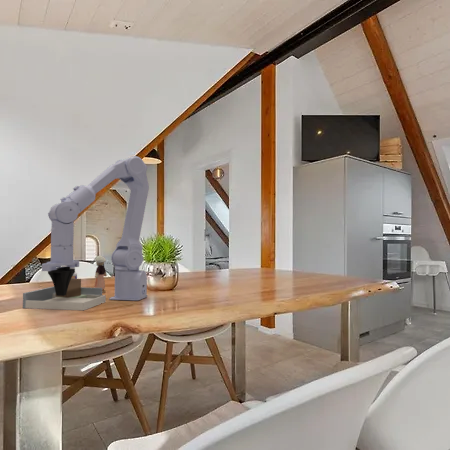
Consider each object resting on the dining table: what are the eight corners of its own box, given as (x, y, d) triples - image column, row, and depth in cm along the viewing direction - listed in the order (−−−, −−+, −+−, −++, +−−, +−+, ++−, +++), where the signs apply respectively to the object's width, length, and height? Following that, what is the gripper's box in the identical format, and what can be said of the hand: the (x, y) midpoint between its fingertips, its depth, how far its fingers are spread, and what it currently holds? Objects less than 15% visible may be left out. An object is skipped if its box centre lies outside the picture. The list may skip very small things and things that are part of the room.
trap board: (106, 301, 110) (106, 288, 110) (83, 310, 96) (83, 295, 97) (52, 299, 112) (52, 286, 112) (22, 308, 99) (23, 293, 99)
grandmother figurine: (96, 290, 131) (97, 255, 131) (108, 290, 131) (108, 255, 131) (90, 294, 123) (91, 256, 123) (102, 294, 123) (103, 256, 124)
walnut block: (80, 295, 108) (81, 278, 108) (67, 297, 104) (67, 280, 104) (69, 294, 110) (69, 278, 111) (55, 296, 106) (55, 279, 106)
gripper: (64, 245, 110) (63, 291, 109) (31, 246, 96) (30, 299, 95) (86, 245, 109) (85, 291, 108) (56, 246, 94) (55, 300, 94)
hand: (61, 295), depth 102 cm, fingers closed
